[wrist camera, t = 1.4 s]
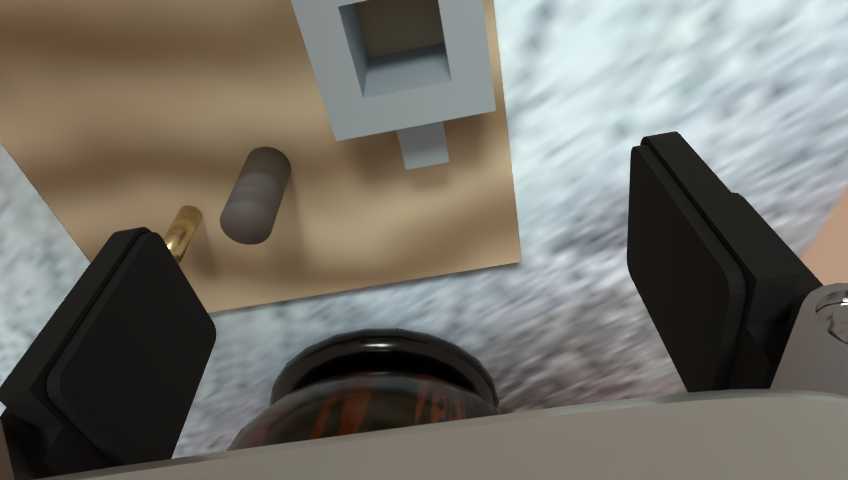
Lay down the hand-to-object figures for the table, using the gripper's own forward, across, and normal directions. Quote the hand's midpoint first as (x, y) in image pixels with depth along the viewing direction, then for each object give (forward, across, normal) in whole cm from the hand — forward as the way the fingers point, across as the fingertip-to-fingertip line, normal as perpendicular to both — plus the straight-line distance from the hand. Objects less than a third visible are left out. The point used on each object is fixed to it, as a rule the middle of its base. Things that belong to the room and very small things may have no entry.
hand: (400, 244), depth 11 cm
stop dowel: (+16, +13, +7) cm, 22 cm away
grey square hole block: (+16, 0, +1) cm, 16 cm away
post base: (+17, +8, +6) cm, 20 cm away
